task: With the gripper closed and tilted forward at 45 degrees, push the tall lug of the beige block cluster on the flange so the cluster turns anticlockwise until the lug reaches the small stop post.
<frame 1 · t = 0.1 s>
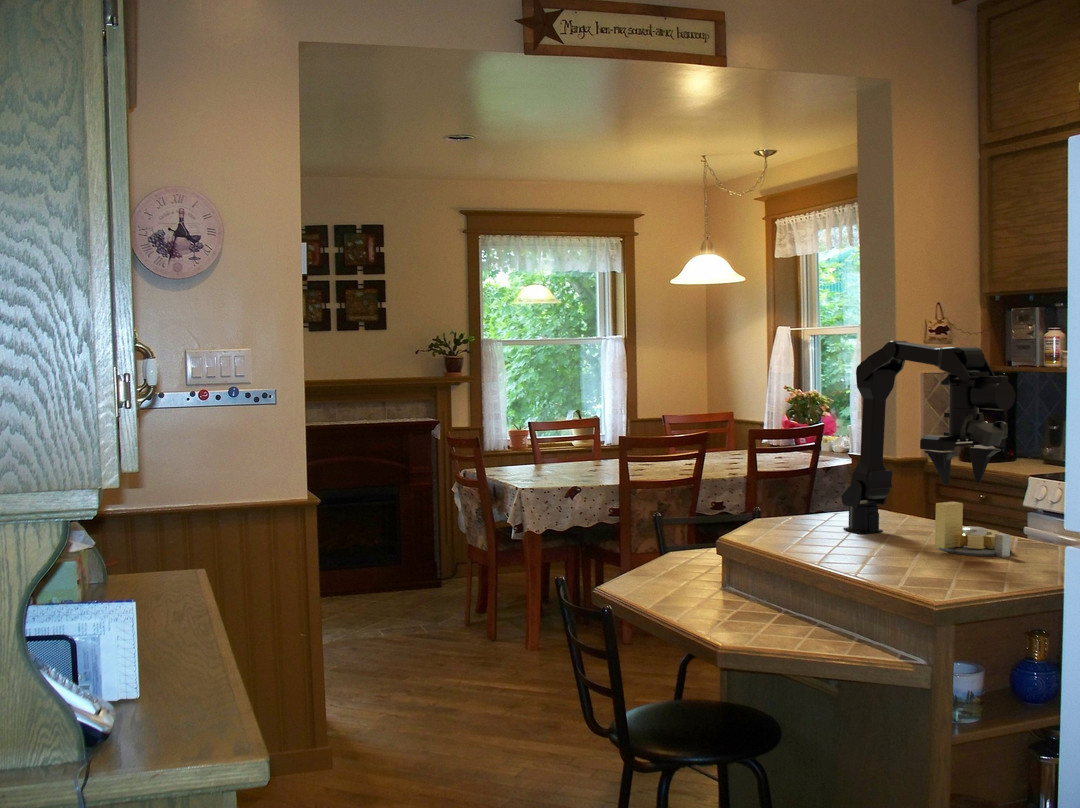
hand: (962, 483, 213), 14 cm above the table, tool pointing down, fingers open, 9 cm apart
beige block cluster: (967, 522, 215), point 6 cm above the table, hinge at 0.0°
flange: (973, 549, 217), on the table
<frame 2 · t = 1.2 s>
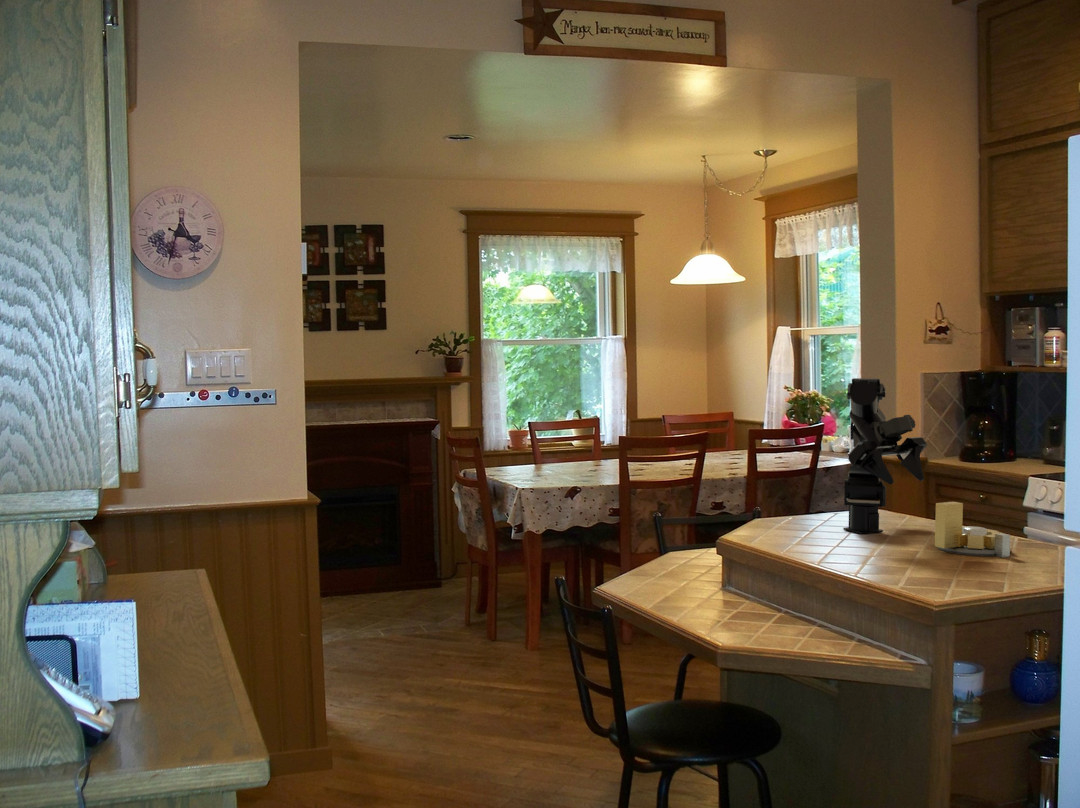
hand: (907, 481, 223), 13 cm above the table, tool tilted 45°, fingers open, 9 cm apart
nothing on the table moved.
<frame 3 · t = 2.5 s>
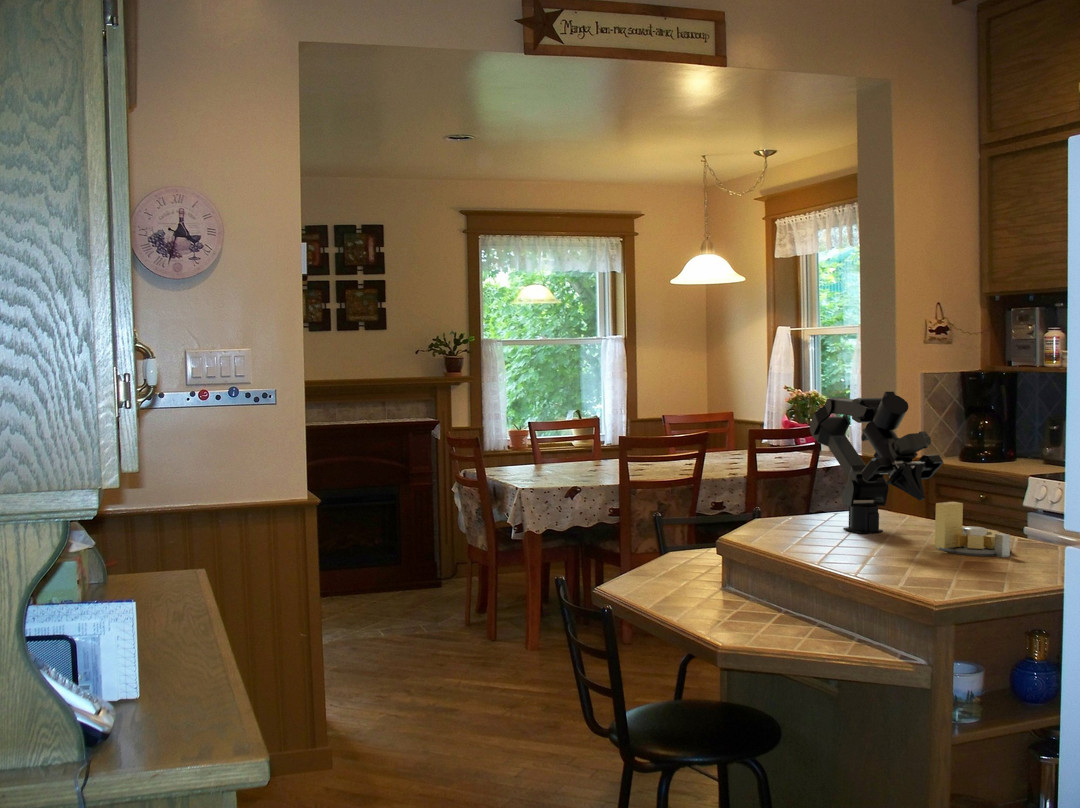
hand: (922, 499, 219), 10 cm above the table, tool tilted 45°, fingers closed
nothing on the table moved.
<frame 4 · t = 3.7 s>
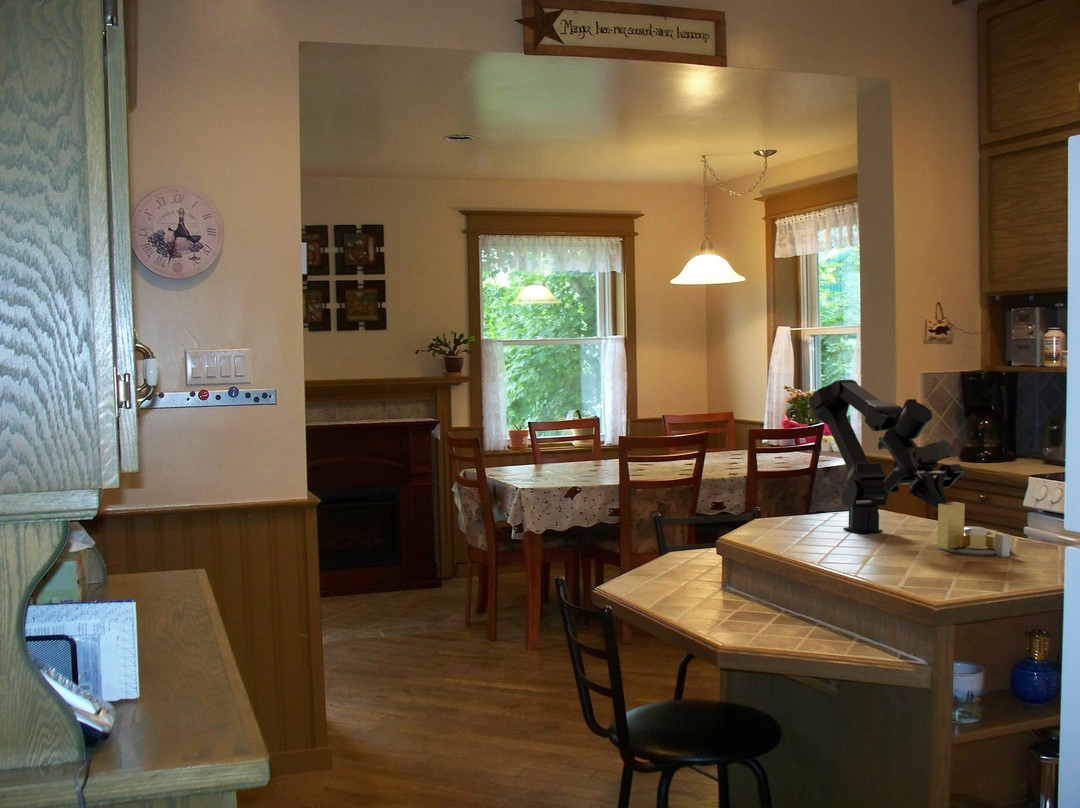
hand: (945, 509, 214), 9 cm above the table, tool tilted 45°, fingers closed, pressing on beige block cluster
beige block cluster: (967, 523, 215), point 6 cm above the table, hinge at 4.4°, touching gripper
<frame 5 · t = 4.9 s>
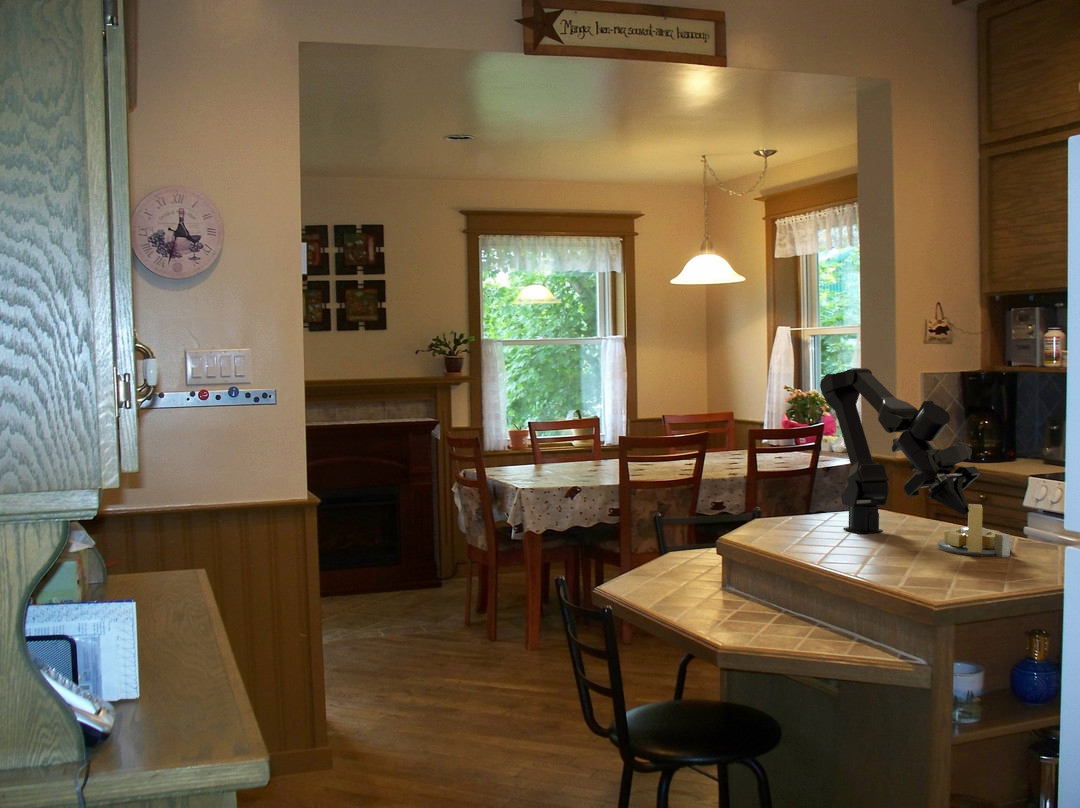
hand: (966, 513, 210), 9 cm above the table, tool tilted 45°, fingers closed
beige block cluster: (974, 523, 214), point 6 cm above the table, hinge at 42.6°, touching gripper
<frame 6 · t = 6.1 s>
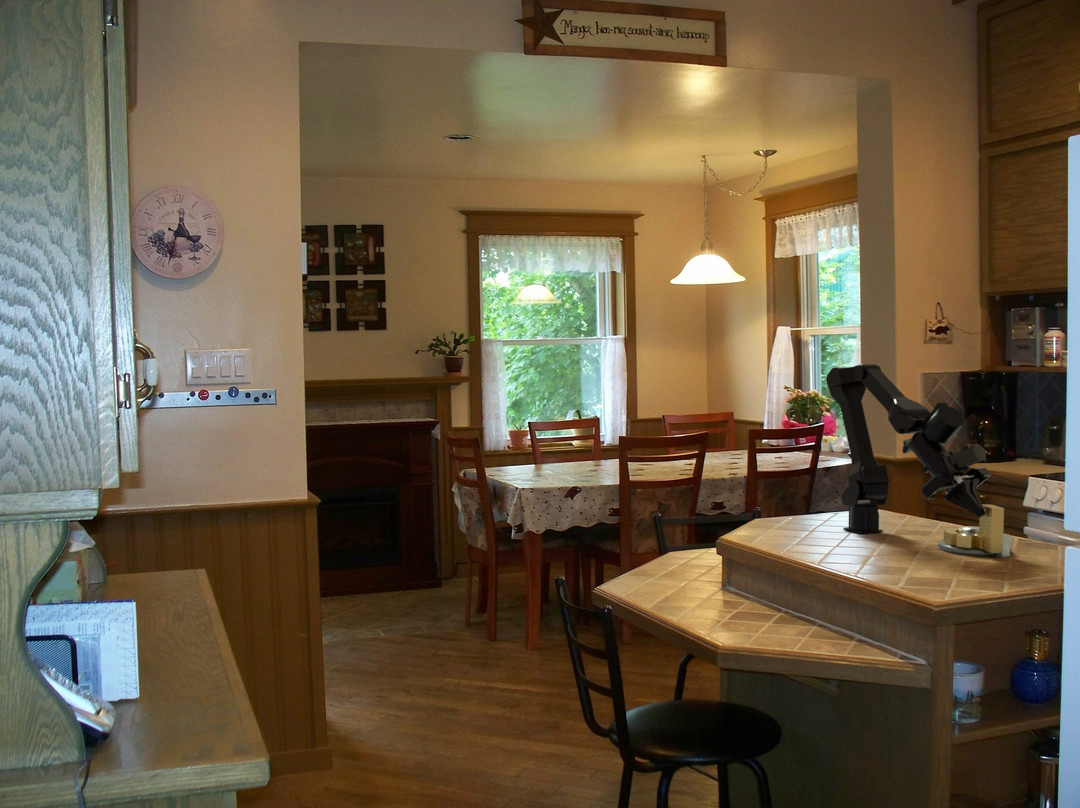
hand: (982, 515, 209), 8 cm above the table, tool tilted 45°, fingers closed
beige block cluster: (978, 523, 214), point 6 cm above the table, hinge at 67.3°, touching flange, gripper
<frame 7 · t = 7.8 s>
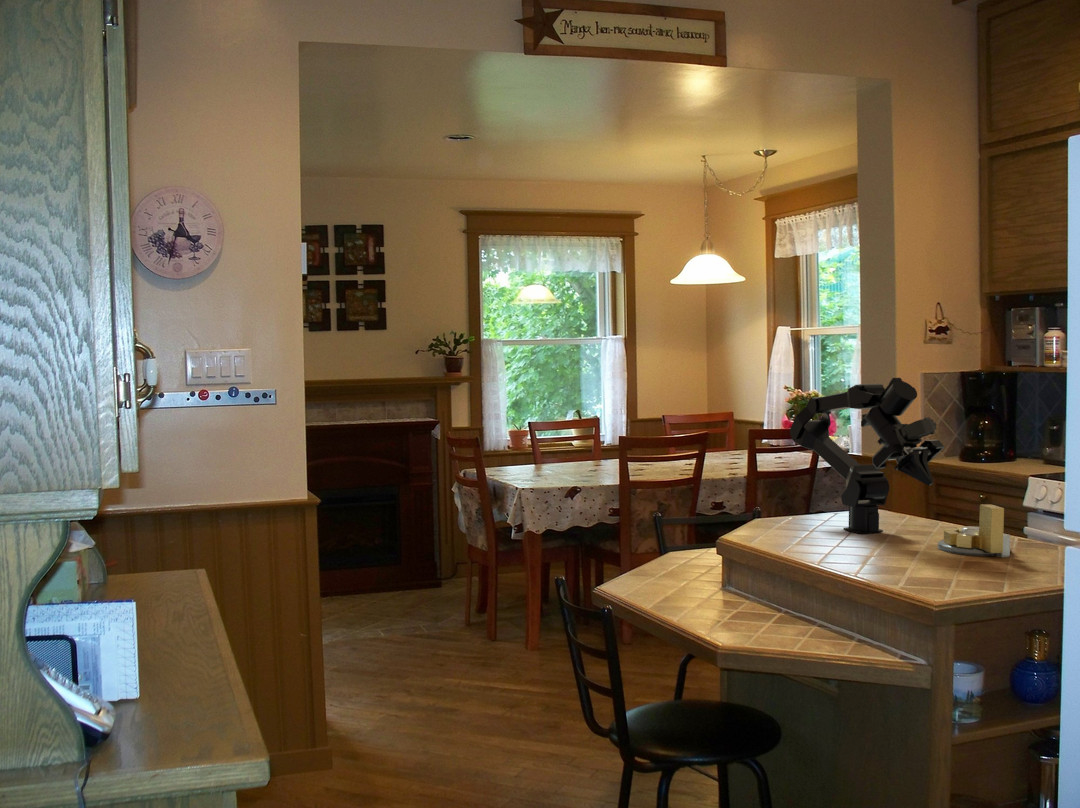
hand: (931, 484, 222), 13 cm above the table, tool tilted 45°, fingers closed
beige block cluster: (978, 523, 214), point 6 cm above the table, hinge at 67.3°, touching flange
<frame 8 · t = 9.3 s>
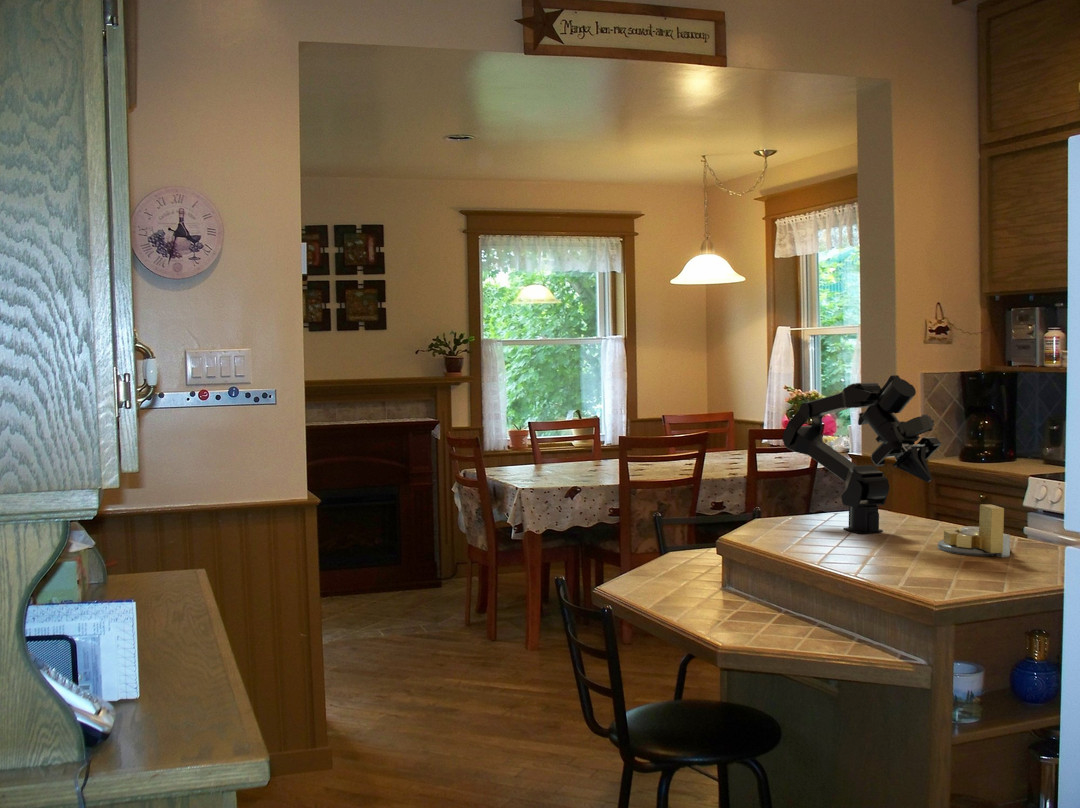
hand: (929, 480, 223), 14 cm above the table, tool tilted 45°, fingers closed
nothing on the table moved.
at the end: beige block cluster at +67° (first picture: +0°) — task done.
